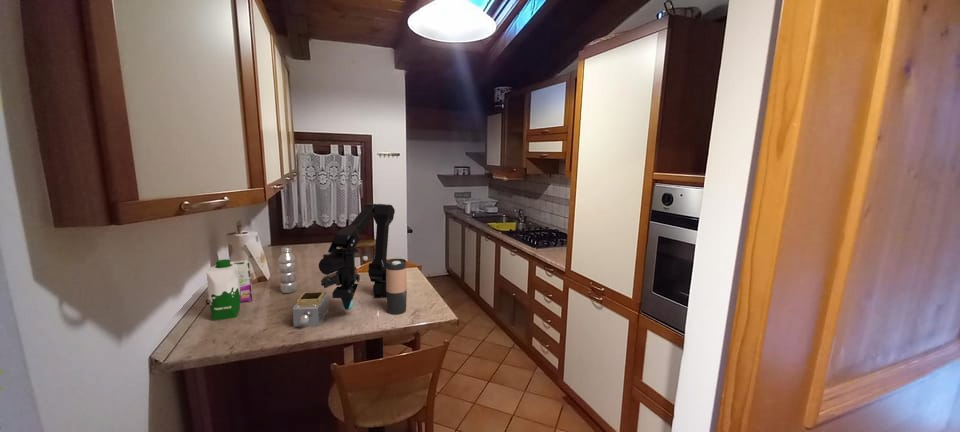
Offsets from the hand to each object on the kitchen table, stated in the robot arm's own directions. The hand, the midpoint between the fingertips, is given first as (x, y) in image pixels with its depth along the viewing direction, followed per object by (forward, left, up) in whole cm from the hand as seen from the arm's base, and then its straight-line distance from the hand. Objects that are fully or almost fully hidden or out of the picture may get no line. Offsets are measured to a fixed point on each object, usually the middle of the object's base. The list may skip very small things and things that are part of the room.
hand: (347, 306), depth 125 cm
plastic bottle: (+29, -27, -4) cm, 40 cm away
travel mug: (-18, -2, -4) cm, 18 cm away
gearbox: (+12, +1, -4) cm, 13 cm away
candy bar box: (+46, -19, -4) cm, 50 cm away
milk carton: (+43, -6, -4) cm, 44 cm away
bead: (0, 0, +1) cm, 1 cm away
